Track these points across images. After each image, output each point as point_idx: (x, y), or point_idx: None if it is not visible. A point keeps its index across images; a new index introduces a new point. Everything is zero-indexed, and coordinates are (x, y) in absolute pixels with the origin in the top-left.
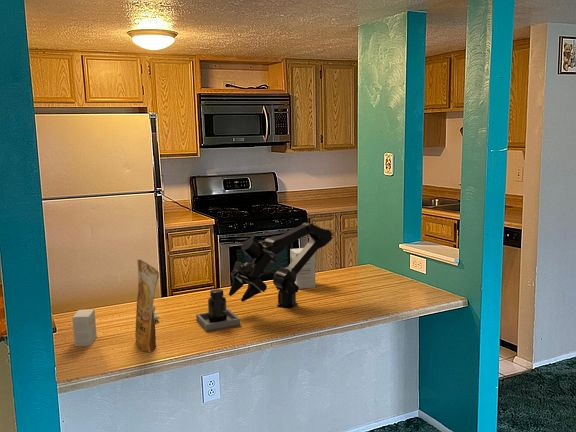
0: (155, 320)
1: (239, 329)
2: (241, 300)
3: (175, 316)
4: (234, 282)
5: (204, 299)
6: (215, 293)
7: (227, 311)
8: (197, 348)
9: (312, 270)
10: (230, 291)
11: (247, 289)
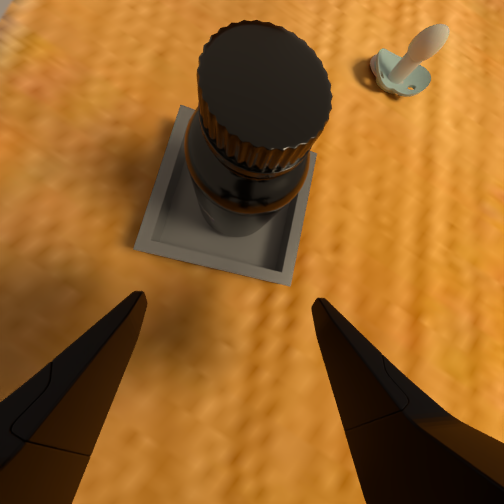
0: (381, 88)
1: (109, 223)
2: (134, 292)
3: (379, 146)
4: (405, 414)
5: (469, 307)
6: (219, 43)
7: (272, 270)
8: (65, 11)
9: None
10: (332, 316)
11: (21, 419)
